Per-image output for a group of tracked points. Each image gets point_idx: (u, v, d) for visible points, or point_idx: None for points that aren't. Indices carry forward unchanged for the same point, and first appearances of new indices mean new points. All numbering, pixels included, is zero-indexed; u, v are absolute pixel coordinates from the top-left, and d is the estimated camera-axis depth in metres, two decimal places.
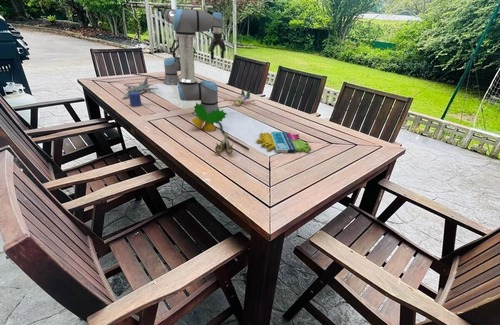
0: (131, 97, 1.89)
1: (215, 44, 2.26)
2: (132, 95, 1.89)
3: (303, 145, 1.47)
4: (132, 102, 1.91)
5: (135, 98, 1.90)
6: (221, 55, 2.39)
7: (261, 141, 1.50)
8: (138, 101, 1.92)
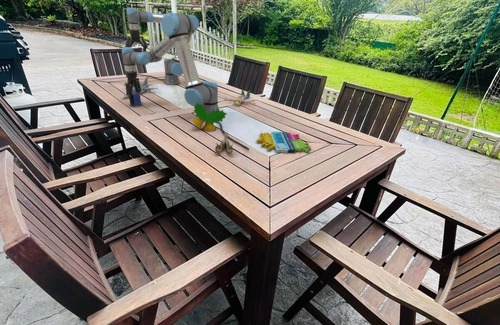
0: None
1: (132, 41, 2.14)
2: (132, 95, 1.89)
3: (303, 145, 1.47)
4: None
5: (135, 98, 1.90)
6: None
7: (261, 141, 1.50)
8: (138, 101, 1.92)
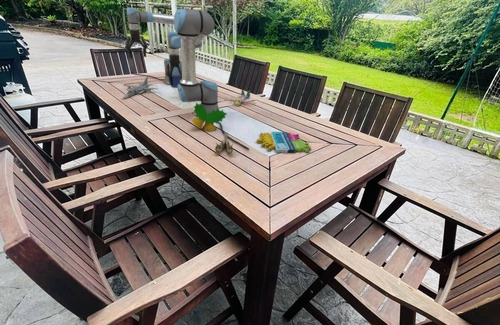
0: None
1: (132, 41, 2.14)
2: (171, 76, 2.03)
3: (303, 145, 1.47)
4: None
5: (174, 80, 2.04)
6: (143, 53, 2.28)
7: (261, 141, 1.50)
8: (176, 83, 2.05)
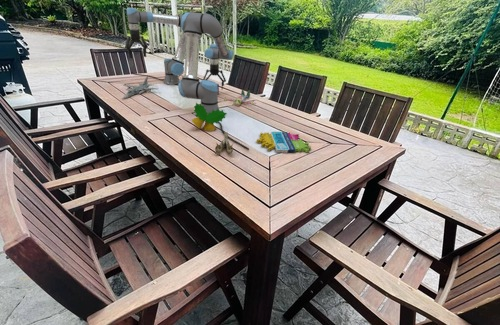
0: None
1: (132, 41, 2.14)
2: None
3: (303, 145, 1.47)
4: None
5: None
6: (143, 53, 2.28)
7: (261, 141, 1.50)
8: None
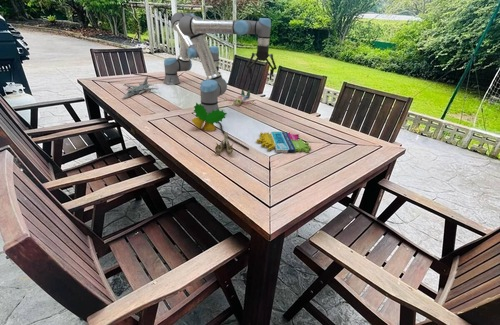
0: None
1: None
2: None
3: (303, 145, 1.47)
4: None
5: None
6: None
7: (261, 141, 1.50)
8: None
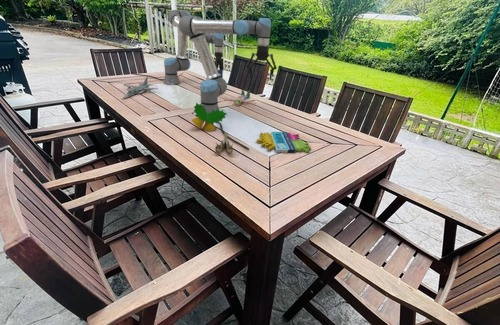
0: None
1: (218, 64, 2.30)
2: None
3: (303, 145, 1.47)
4: None
5: None
6: None
7: (261, 141, 1.50)
8: None
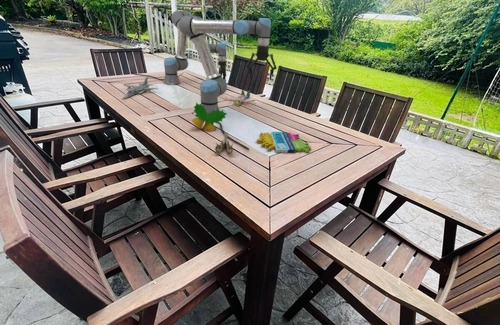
0: None
1: (222, 71, 2.43)
2: None
3: (303, 145, 1.47)
4: None
5: None
6: None
7: (261, 141, 1.50)
8: None
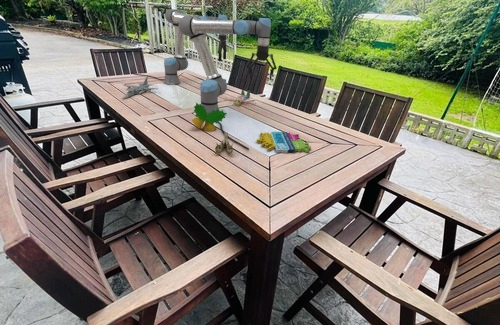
0: None
1: (222, 46, 2.32)
2: None
3: (303, 145, 1.47)
4: None
5: None
6: (223, 56, 2.46)
7: (261, 141, 1.50)
8: None
